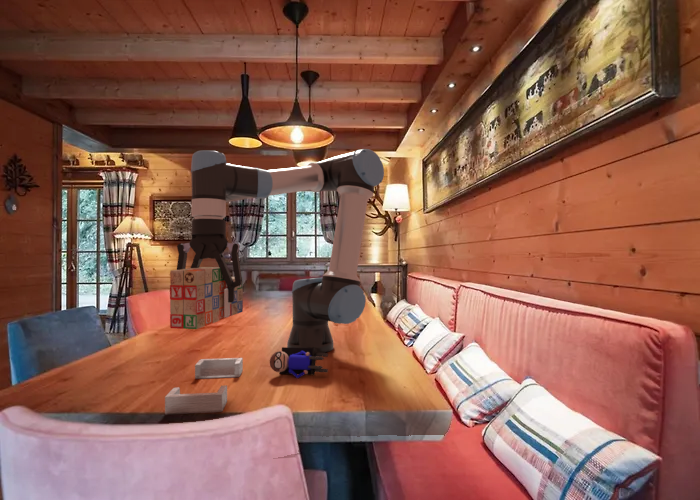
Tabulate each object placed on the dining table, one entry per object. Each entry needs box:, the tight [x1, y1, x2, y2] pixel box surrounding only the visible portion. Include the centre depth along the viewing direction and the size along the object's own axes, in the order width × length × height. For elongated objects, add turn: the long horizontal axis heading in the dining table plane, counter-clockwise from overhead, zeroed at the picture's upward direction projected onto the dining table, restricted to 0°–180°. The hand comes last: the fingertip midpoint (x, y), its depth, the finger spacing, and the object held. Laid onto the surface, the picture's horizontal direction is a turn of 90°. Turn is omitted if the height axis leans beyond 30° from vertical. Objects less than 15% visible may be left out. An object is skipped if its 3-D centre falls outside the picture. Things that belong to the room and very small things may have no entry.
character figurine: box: [269, 346, 329, 379], centre depth 99 cm, size 8×7×15 cm
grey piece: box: [194, 357, 244, 380], centre depth 100 cm, size 11×5×4 cm, turn 97°
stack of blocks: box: [169, 266, 244, 330], centre depth 90 cm, size 21×6×12 cm, turn 170°
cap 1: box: [164, 384, 228, 416], centre depth 79 cm, size 11×5×4 cm, turn 97°
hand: (209, 316), depth 90 cm, fingers closed on stack of blocks, 7 cm apart
